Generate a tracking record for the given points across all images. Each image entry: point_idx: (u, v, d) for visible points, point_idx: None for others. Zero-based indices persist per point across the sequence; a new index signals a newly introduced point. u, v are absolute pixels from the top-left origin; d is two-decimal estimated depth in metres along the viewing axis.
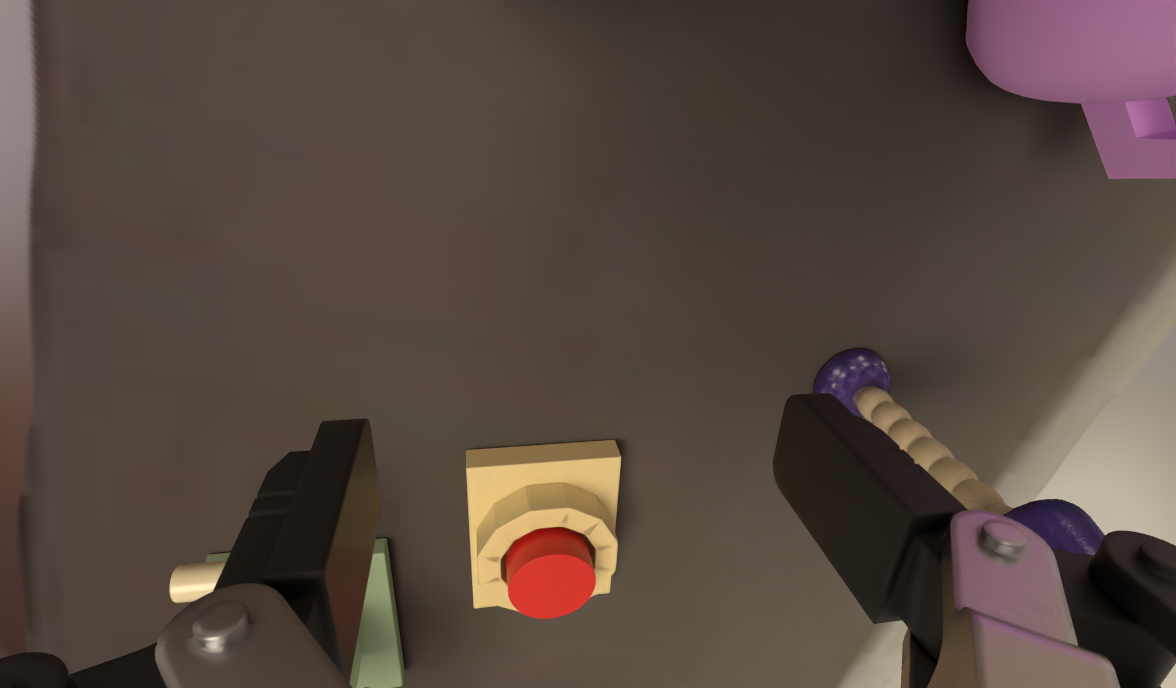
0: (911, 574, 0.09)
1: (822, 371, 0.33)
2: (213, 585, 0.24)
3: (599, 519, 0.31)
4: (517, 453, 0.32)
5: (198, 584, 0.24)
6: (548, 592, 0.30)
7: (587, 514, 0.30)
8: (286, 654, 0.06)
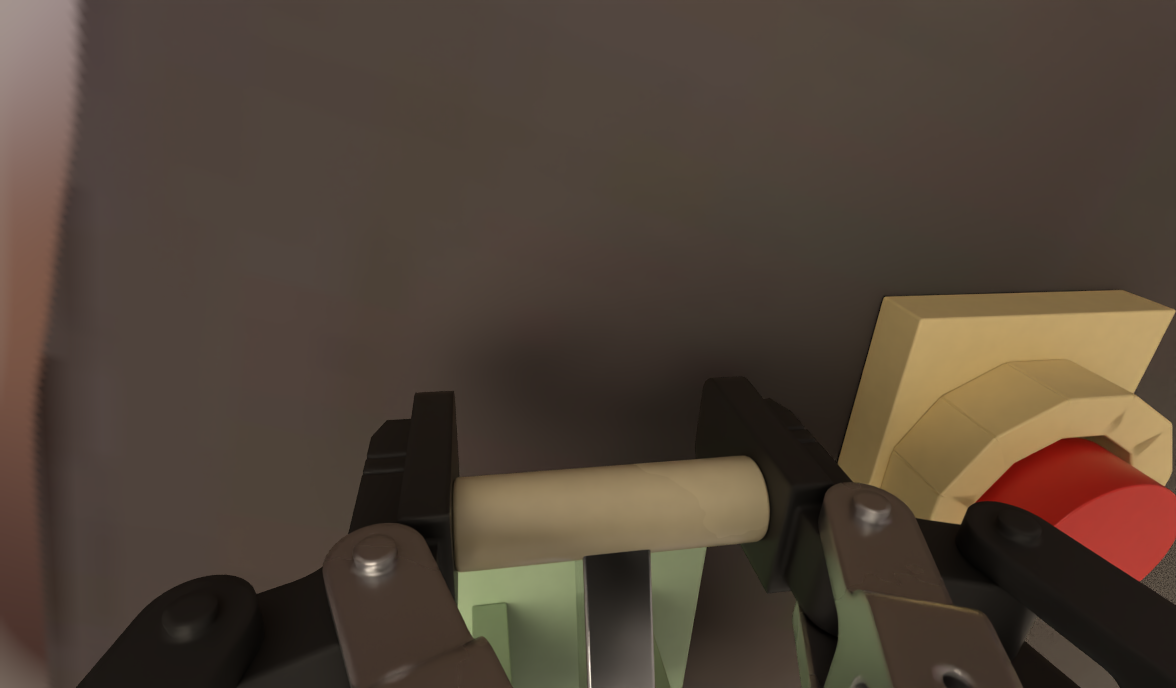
0: (795, 544, 0.09)
1: None
2: (560, 526, 0.09)
3: (1170, 423, 0.16)
4: (983, 302, 0.17)
5: (524, 522, 0.09)
6: None
7: (1156, 411, 0.15)
8: (422, 591, 0.07)
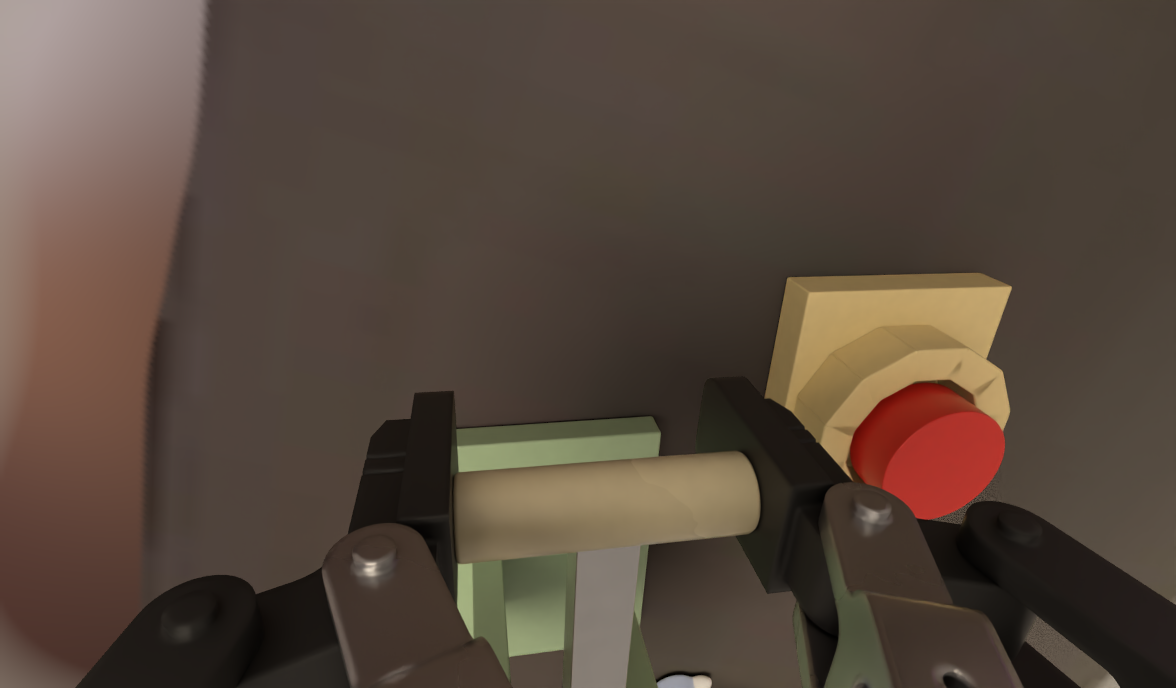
0: (796, 544, 0.09)
1: None
2: (557, 536, 0.09)
3: (1000, 370, 0.21)
4: (863, 281, 0.22)
5: (523, 534, 0.09)
6: (937, 475, 0.20)
7: (987, 361, 0.20)
8: (421, 592, 0.07)
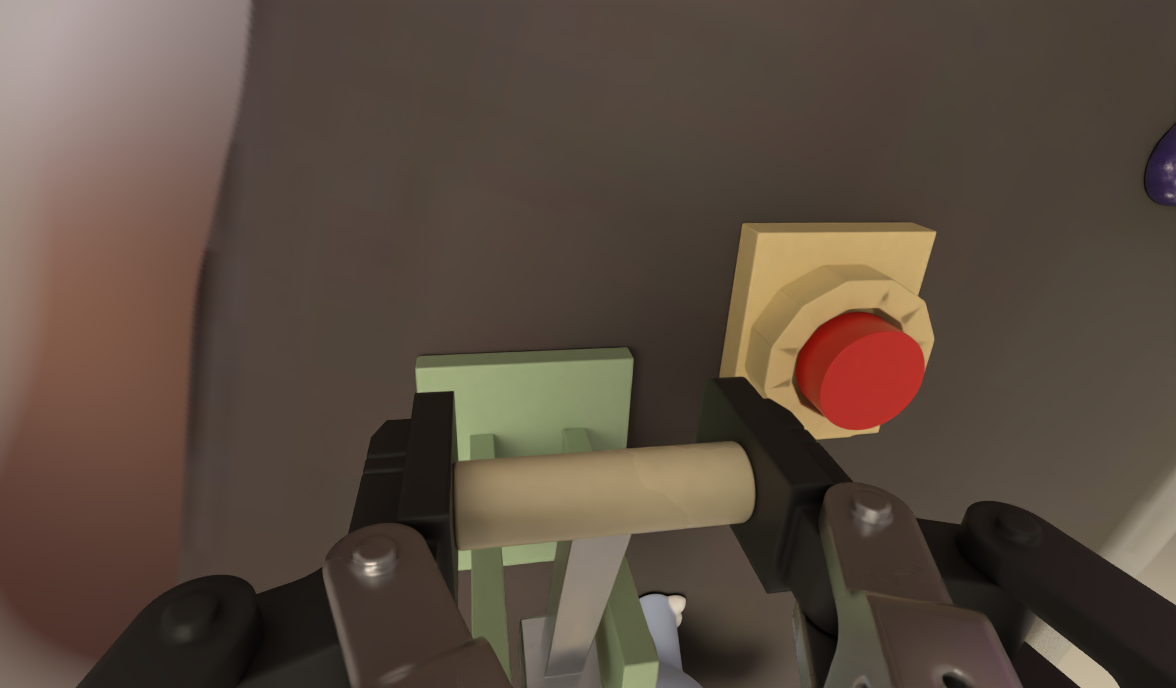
0: (796, 544, 0.09)
1: (1166, 139, 0.27)
2: (555, 534, 0.10)
3: (923, 301, 0.24)
4: (808, 226, 0.25)
5: (522, 534, 0.10)
6: (867, 388, 0.24)
7: (911, 292, 0.24)
8: (421, 591, 0.07)
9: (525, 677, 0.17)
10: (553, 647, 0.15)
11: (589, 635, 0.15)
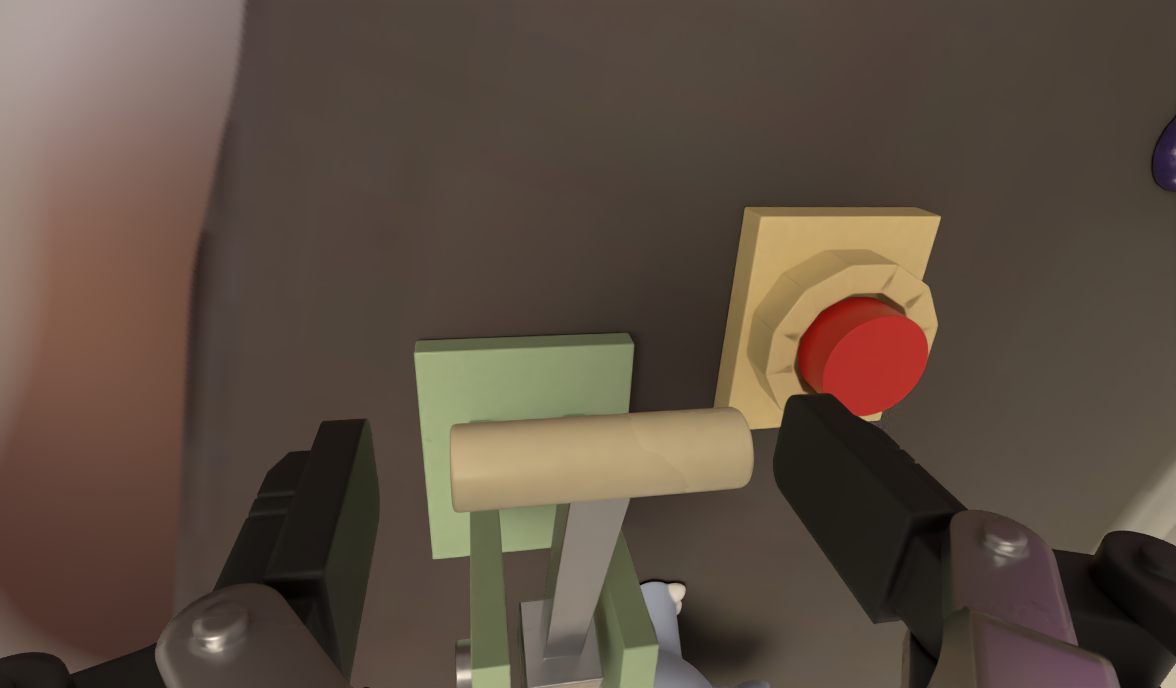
0: (911, 574, 0.09)
1: (1174, 123, 0.27)
2: (552, 495, 0.10)
3: (927, 286, 0.24)
4: (811, 210, 0.25)
5: (519, 495, 0.10)
6: (869, 374, 0.23)
7: (915, 277, 0.24)
8: (286, 654, 0.06)
9: (524, 659, 0.17)
10: (552, 625, 0.15)
11: (588, 613, 0.15)
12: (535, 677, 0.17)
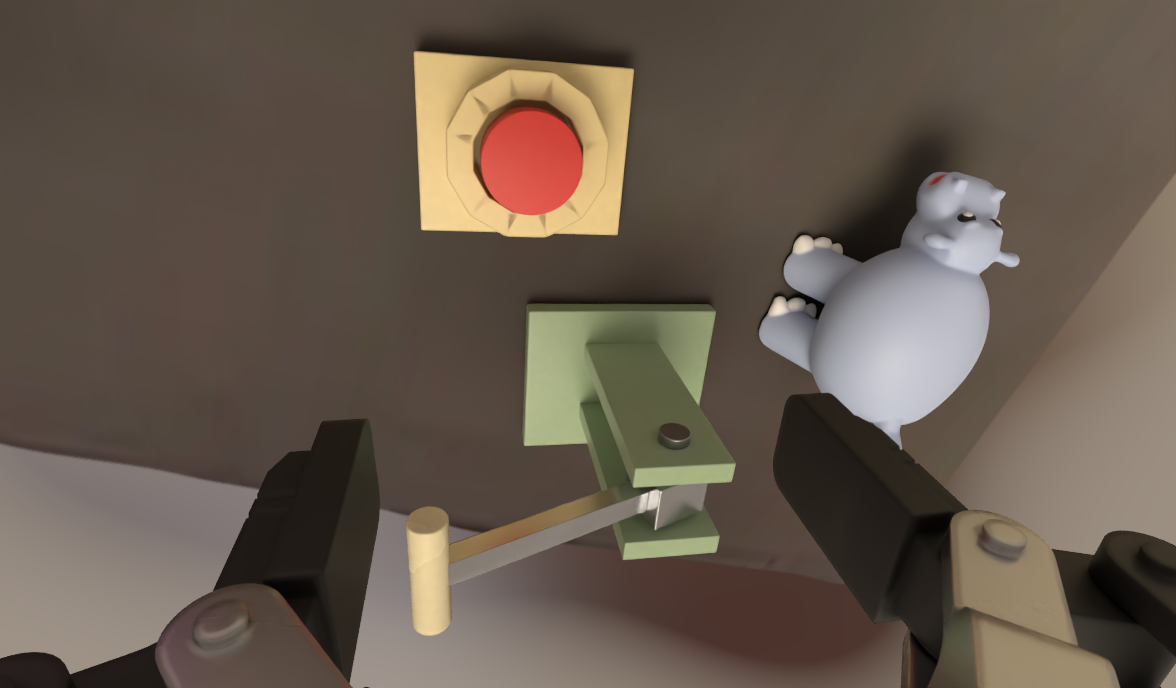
0: (911, 574, 0.09)
1: None
2: (435, 604, 0.22)
3: (467, 94, 0.26)
4: None
5: (433, 615, 0.22)
6: (538, 169, 0.26)
7: (458, 109, 0.26)
8: (286, 654, 0.06)
9: (644, 519, 0.27)
10: (593, 530, 0.25)
11: (582, 519, 0.25)
12: (651, 521, 0.27)
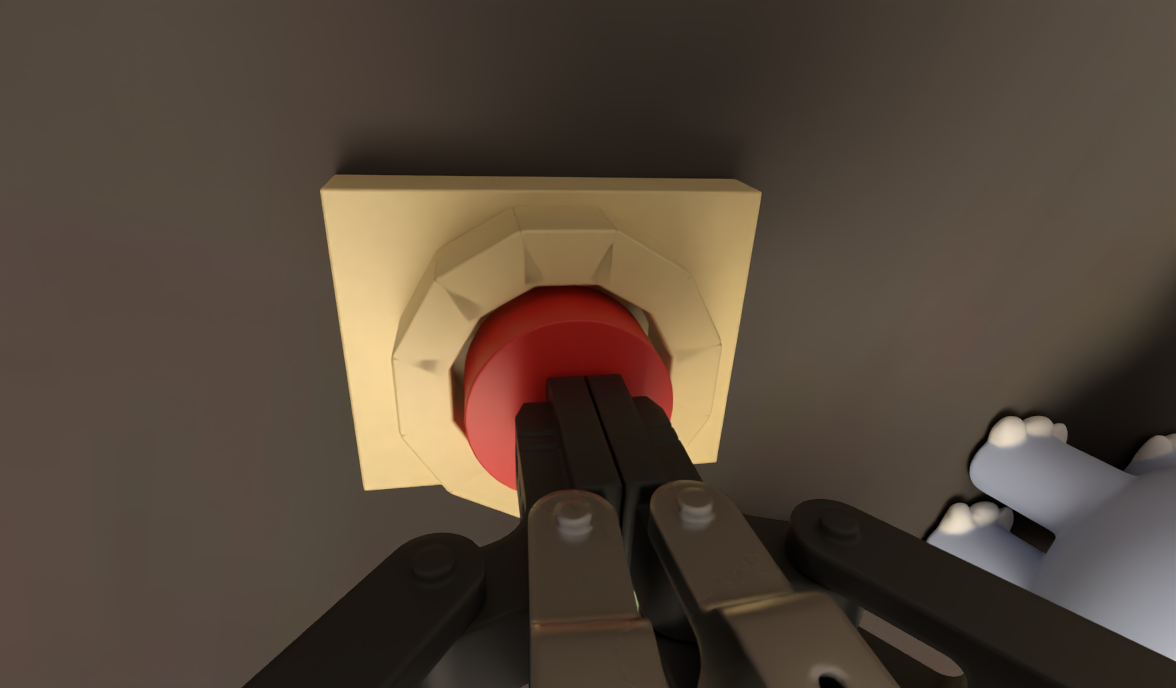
0: (635, 543, 0.09)
1: None
2: None
3: (432, 285, 0.12)
4: None
5: None
6: None
7: (414, 315, 0.12)
8: (604, 560, 0.07)
9: None
10: None
11: None
12: None
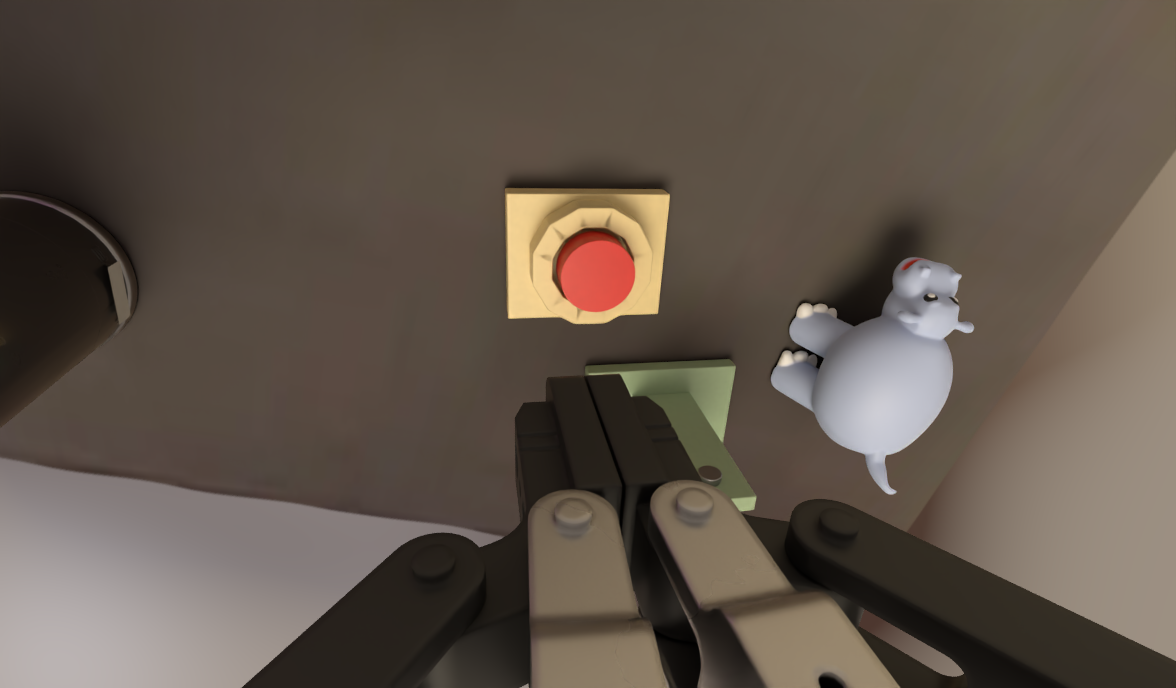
0: (635, 543, 0.09)
1: None
2: None
3: (549, 227, 0.35)
4: (506, 275, 0.39)
5: None
6: (602, 280, 0.35)
7: (542, 237, 0.35)
8: (604, 560, 0.07)
9: None
10: None
11: None
12: None
